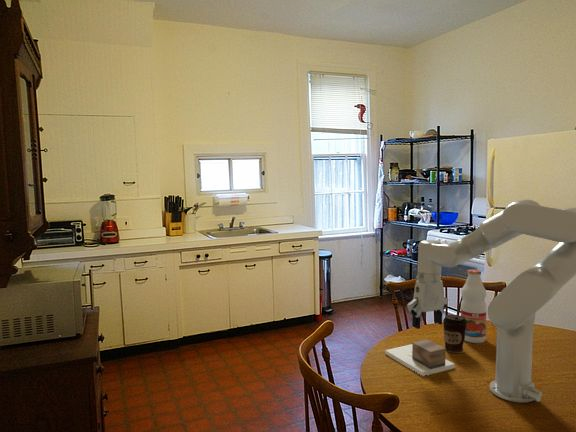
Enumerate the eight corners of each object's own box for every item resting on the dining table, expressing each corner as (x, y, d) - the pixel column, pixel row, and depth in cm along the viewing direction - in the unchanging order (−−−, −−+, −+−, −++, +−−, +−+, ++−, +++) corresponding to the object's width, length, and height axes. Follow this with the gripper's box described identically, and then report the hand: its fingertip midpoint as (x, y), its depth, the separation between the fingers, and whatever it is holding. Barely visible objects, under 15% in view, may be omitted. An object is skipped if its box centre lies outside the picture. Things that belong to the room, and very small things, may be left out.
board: (454, 368, 147) (454, 363, 147) (422, 376, 141) (422, 372, 141) (414, 347, 165) (414, 343, 165) (385, 354, 159) (385, 350, 159)
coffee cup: (462, 357, 156) (463, 322, 154) (439, 351, 161) (439, 318, 159) (468, 349, 162) (469, 315, 161) (446, 344, 167) (447, 311, 166)
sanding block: (445, 365, 146) (445, 348, 145) (430, 369, 143) (430, 352, 143) (426, 355, 154) (426, 339, 153) (412, 358, 151) (412, 342, 151)
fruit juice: (484, 336, 175) (486, 268, 172) (486, 344, 166) (488, 273, 163) (459, 333, 178) (461, 267, 176) (460, 342, 169) (461, 272, 167)
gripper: (416, 282, 139) (414, 333, 141) (456, 276, 146) (454, 325, 148) (401, 276, 146) (399, 325, 148) (440, 271, 153) (438, 318, 155)
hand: (427, 325), depth 148 cm, fingers open, 9 cm apart
